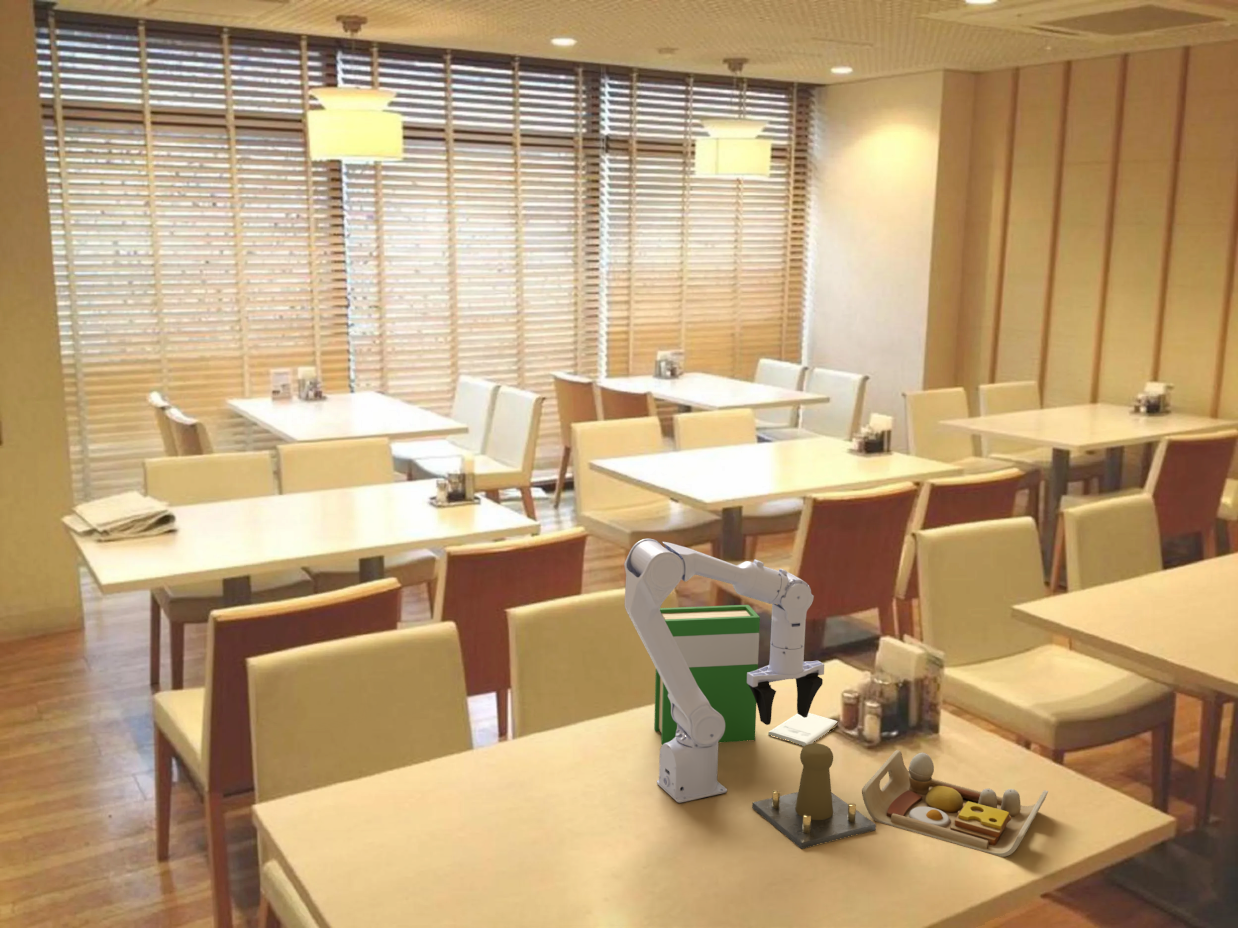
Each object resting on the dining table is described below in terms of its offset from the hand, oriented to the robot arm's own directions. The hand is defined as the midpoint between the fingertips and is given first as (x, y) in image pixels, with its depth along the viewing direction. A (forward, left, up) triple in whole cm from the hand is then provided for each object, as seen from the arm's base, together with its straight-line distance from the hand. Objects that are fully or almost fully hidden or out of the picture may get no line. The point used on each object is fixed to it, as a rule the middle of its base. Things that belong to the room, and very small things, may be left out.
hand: (783, 718), depth 193 cm
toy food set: (+18, -23, -11) cm, 31 cm away
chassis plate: (-4, -15, -10) cm, 19 cm away
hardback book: (-4, +20, -11) cm, 23 cm away
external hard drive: (+14, +14, -11) cm, 23 cm away
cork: (-3, -14, -10) cm, 18 cm away
